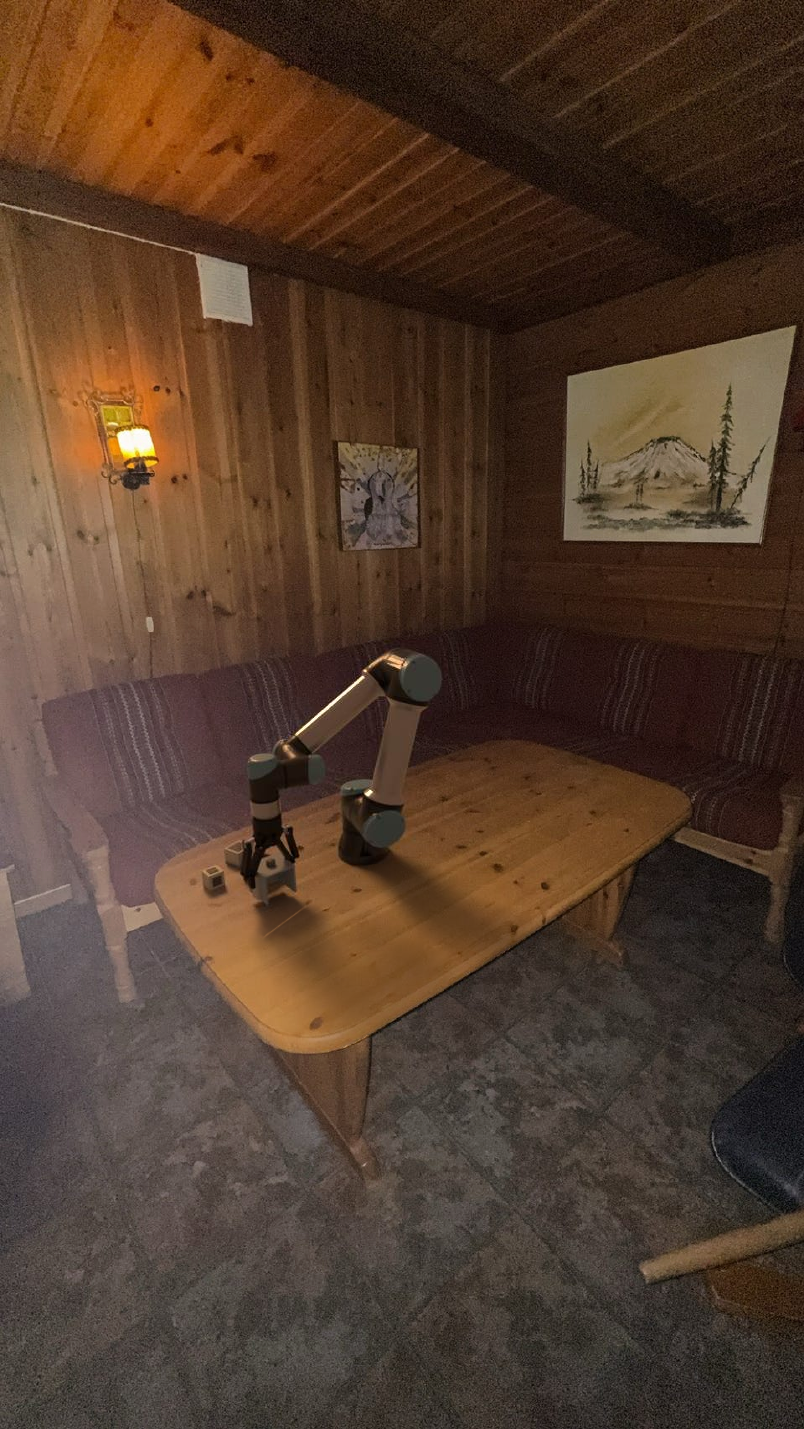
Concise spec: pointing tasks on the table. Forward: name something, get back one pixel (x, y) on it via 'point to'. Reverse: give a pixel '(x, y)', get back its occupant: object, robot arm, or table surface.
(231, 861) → the beige tub
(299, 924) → the table surface
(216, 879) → the cream boxy hollow piece
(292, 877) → the cover
